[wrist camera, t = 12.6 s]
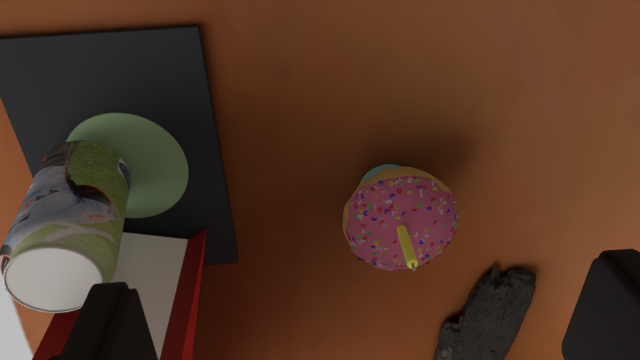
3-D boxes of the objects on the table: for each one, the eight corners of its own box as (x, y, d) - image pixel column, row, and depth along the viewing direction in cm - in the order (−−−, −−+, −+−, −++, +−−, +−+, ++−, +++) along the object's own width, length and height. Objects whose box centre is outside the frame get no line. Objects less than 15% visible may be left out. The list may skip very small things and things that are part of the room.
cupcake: (317, 172, 39) (332, 275, 28) (415, 123, 37) (468, 213, 27) (364, 245, 43) (392, 358, 33) (454, 203, 41) (513, 308, 31)
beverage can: (44, 127, 34) (-56, 230, 24) (152, 140, 35) (101, 243, 25) (53, 201, 37) (-31, 320, 27) (152, 210, 39) (107, 328, 28)
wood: (461, 260, 45) (472, 283, 42) (537, 264, 45) (552, 287, 43) (408, 409, 56) (414, 434, 53) (469, 410, 57) (478, 435, 54)
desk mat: (-18, 38, 32) (-24, 41, 31) (199, 24, 32) (197, 27, 32) (75, 271, 42) (72, 277, 41) (238, 258, 42) (238, 263, 42)
